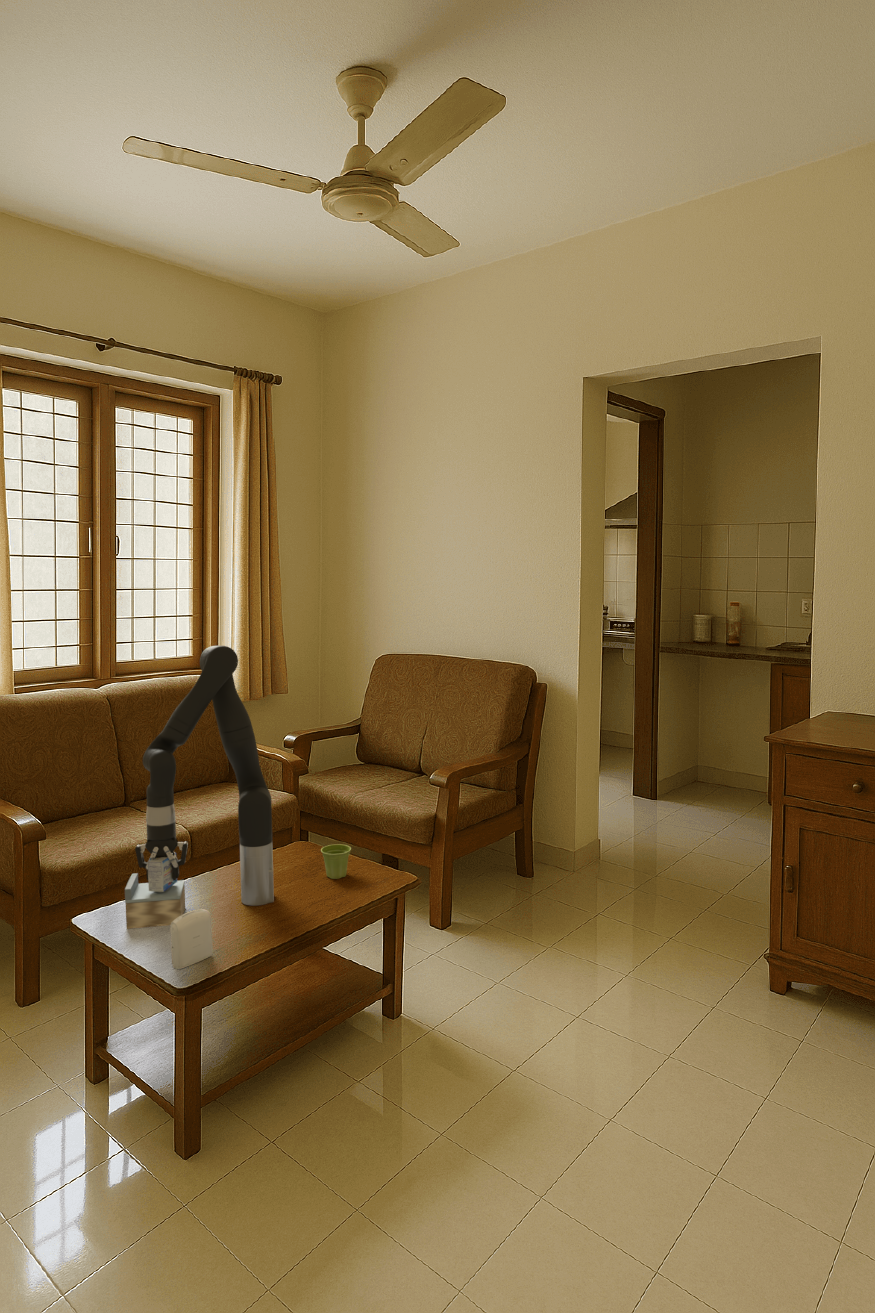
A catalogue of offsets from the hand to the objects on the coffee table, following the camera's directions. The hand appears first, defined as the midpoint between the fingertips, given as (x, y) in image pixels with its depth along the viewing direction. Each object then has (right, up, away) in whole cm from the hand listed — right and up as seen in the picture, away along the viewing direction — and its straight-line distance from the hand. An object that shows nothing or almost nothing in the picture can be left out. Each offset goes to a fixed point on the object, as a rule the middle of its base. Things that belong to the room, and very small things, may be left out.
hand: (163, 880), depth 224 cm
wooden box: (-2, -11, 0) cm, 11 cm away
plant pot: (+44, -8, +33) cm, 55 cm away
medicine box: (0, -2, 0) cm, 2 cm away
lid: (-2, -3, 0) cm, 4 cm away
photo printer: (+16, -13, -25) cm, 32 cm away
